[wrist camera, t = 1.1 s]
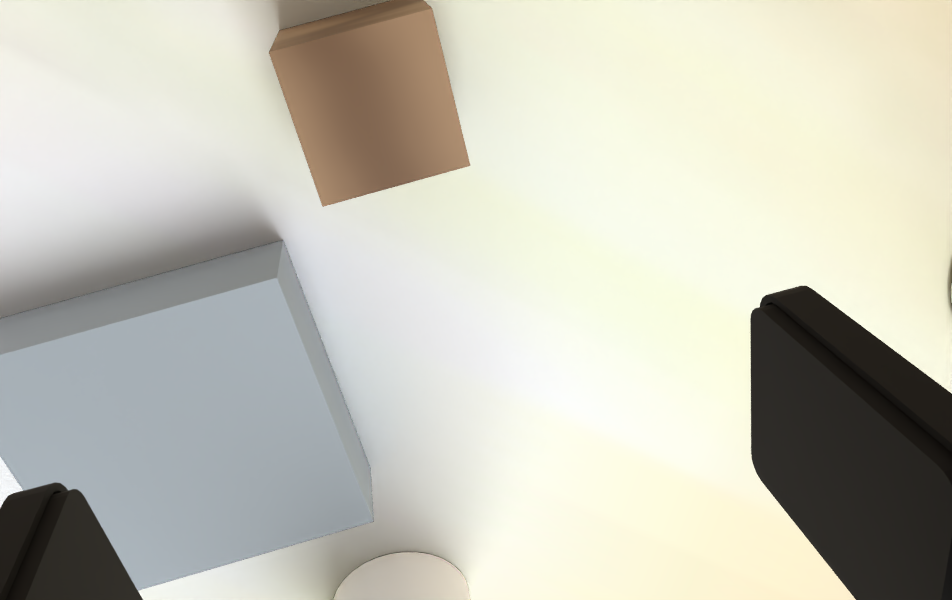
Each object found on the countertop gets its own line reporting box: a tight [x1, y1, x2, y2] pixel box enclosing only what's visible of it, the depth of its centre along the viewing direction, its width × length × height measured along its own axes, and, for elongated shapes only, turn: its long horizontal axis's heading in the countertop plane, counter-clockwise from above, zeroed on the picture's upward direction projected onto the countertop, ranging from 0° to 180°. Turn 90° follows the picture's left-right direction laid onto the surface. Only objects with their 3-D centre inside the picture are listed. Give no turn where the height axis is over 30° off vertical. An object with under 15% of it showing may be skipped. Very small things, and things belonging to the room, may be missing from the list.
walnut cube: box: [269, 0, 470, 206], centre depth 26 cm, size 5×5×5 cm
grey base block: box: [0, 240, 374, 590], centre depth 32 cm, size 12×12×4 cm
